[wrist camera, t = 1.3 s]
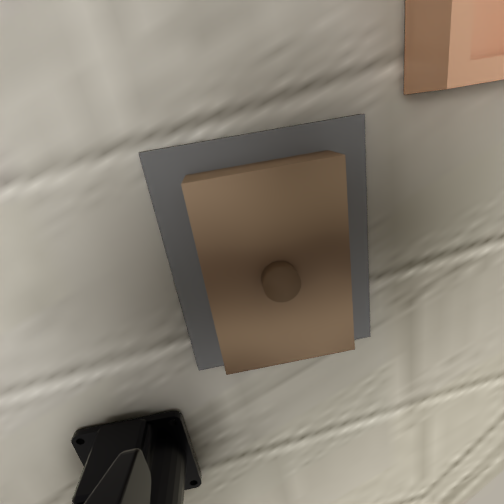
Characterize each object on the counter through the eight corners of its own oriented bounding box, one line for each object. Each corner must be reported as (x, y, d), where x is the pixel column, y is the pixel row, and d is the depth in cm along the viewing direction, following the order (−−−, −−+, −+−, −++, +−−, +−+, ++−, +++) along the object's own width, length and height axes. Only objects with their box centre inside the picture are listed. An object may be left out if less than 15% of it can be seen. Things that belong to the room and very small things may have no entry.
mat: (367, 332, 20) (370, 336, 19) (199, 365, 19) (198, 370, 19) (360, 114, 15) (364, 113, 15) (140, 152, 15) (138, 153, 14)
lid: (339, 324, 19) (361, 359, 16) (225, 346, 18) (227, 386, 16) (327, 150, 15) (352, 156, 12) (185, 174, 15) (178, 187, 12)
